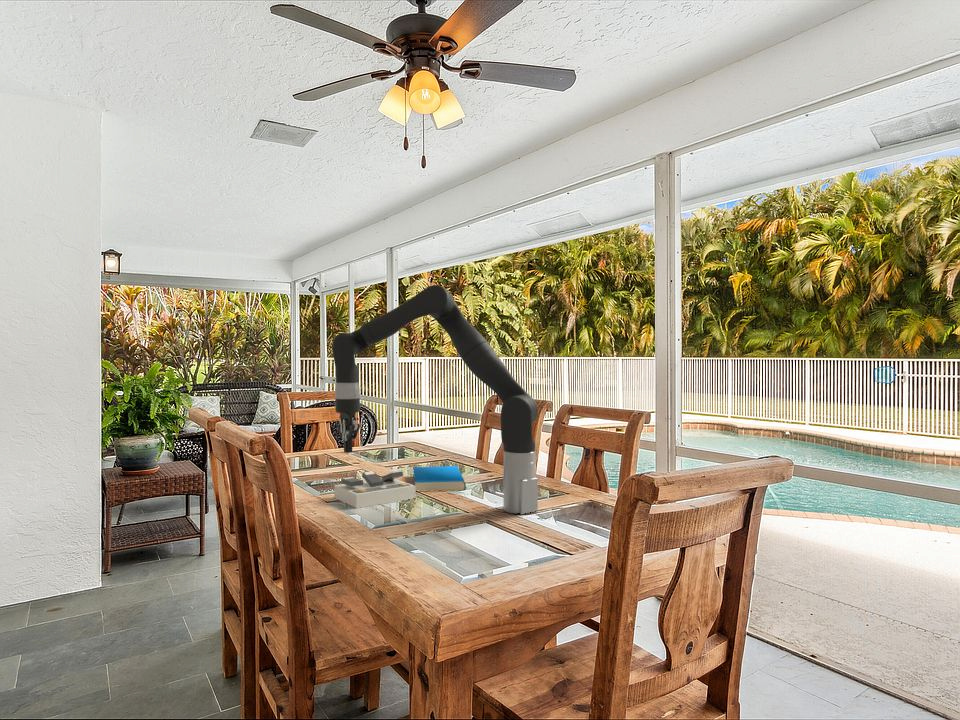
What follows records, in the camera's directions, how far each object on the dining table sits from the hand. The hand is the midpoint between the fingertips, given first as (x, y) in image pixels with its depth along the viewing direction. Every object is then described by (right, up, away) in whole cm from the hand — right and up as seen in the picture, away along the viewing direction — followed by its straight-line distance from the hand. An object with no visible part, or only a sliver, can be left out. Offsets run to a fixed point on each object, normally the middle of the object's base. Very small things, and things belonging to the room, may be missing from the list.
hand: (348, 452), depth 186 cm
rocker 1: (+2, -9, -2) cm, 9 cm away
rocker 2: (+7, -9, +2) cm, 12 cm away
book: (+26, -15, +24) cm, 38 cm away
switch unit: (+8, -15, +1) cm, 17 cm away
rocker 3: (+13, -9, +6) cm, 17 cm away
